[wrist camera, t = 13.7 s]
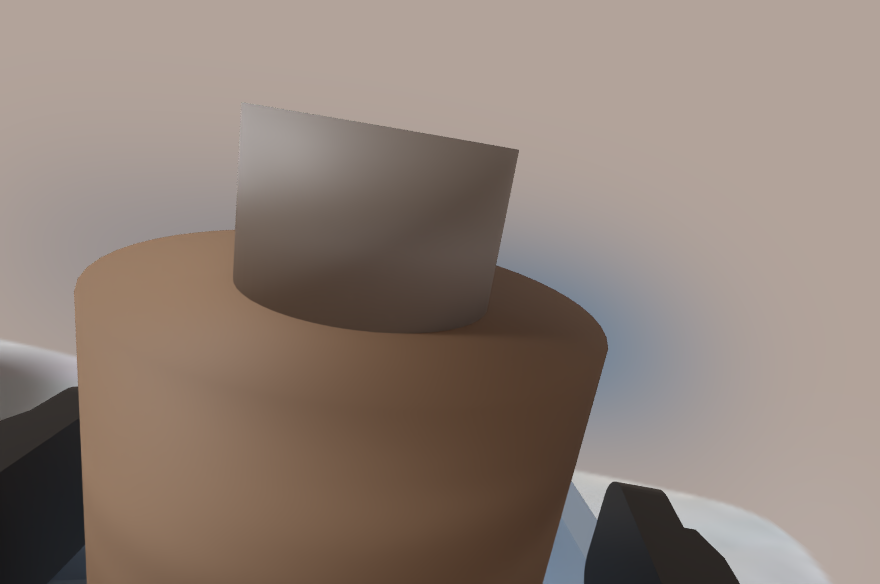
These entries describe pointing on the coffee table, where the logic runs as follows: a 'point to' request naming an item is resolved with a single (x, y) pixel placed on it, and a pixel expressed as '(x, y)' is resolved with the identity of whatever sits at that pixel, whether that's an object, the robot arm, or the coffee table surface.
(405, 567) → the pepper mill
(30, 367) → the coffee table surface
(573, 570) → the bin
